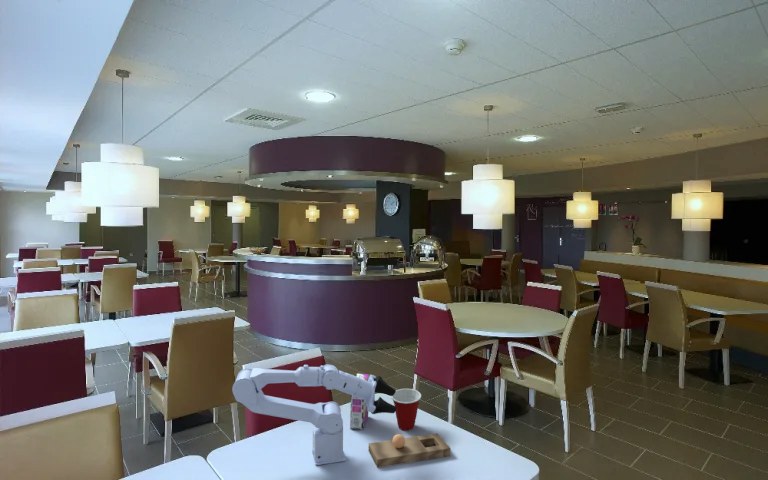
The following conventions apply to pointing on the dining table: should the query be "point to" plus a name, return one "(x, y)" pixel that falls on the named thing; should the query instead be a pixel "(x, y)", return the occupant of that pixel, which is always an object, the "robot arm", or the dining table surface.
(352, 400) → the candy bar box
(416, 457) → the deck
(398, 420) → the plastic cup
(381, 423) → the dining table surface
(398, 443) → the ball
